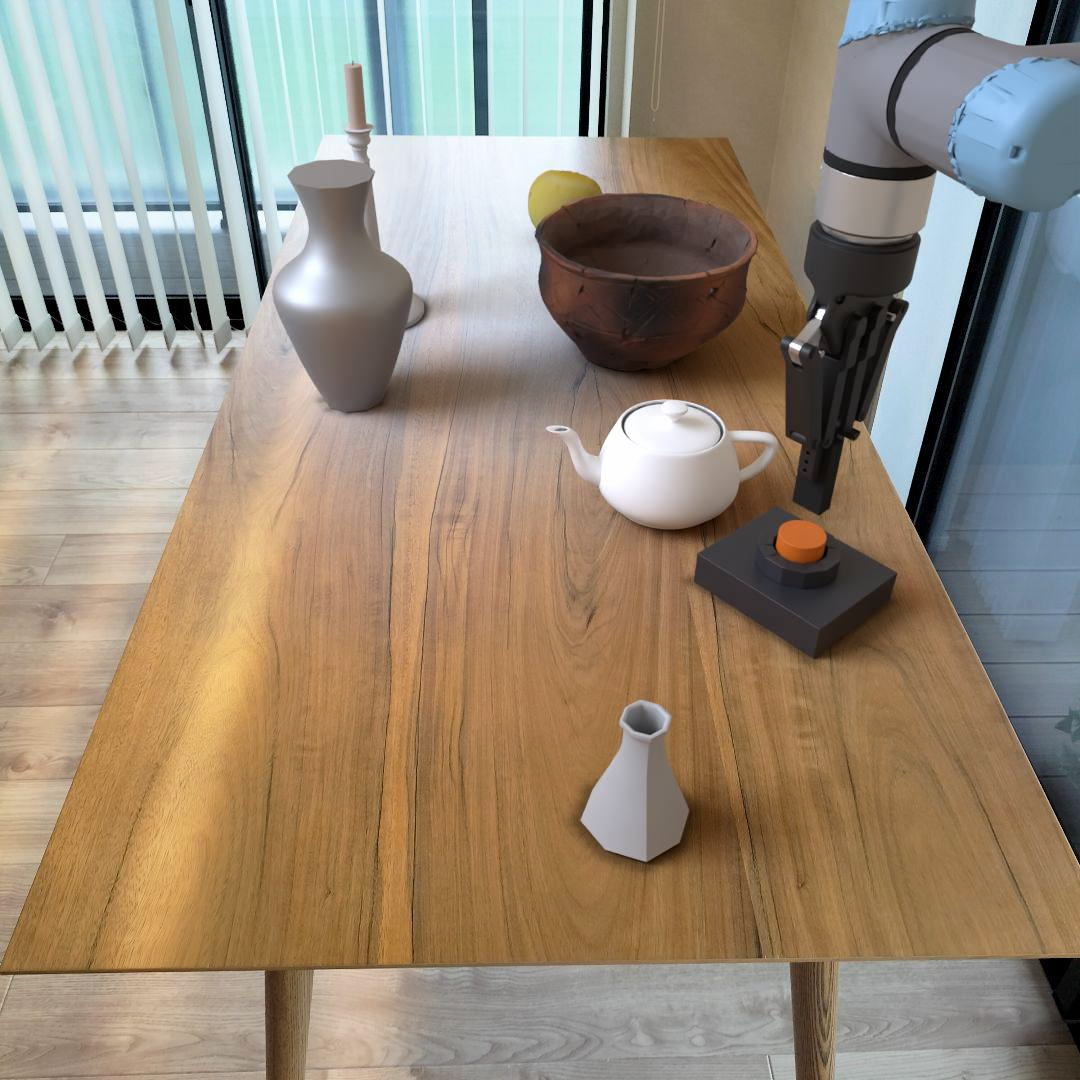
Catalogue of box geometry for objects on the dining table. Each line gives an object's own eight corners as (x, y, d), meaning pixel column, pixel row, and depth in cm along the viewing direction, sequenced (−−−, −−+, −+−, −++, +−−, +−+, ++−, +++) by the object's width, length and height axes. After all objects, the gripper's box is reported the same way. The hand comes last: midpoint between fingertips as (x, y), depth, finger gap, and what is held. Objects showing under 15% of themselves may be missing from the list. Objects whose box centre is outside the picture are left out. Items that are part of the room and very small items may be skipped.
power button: (832, 551, 92) (836, 535, 91) (804, 571, 90) (807, 554, 88) (794, 530, 94) (798, 514, 93) (766, 548, 92) (768, 532, 91)
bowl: (713, 421, 117) (731, 291, 108) (502, 379, 124) (502, 253, 114) (758, 325, 136) (777, 207, 127) (573, 293, 142) (577, 179, 133)
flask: (561, 824, 74) (566, 724, 68) (621, 761, 79) (630, 662, 73) (649, 881, 71) (663, 781, 65) (706, 811, 75) (724, 711, 69)
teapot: (753, 460, 111) (768, 367, 104) (784, 542, 100) (803, 443, 94) (540, 464, 110) (542, 370, 103) (548, 546, 99) (551, 447, 92)
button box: (890, 601, 94) (902, 555, 91) (813, 658, 88) (824, 612, 85) (771, 532, 101) (779, 488, 98) (693, 581, 95) (699, 536, 92)
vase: (403, 436, 114) (386, 203, 98) (270, 425, 115) (233, 193, 100) (431, 370, 125) (419, 152, 110) (309, 361, 126) (282, 144, 111)
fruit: (608, 250, 154) (612, 180, 148) (534, 255, 152) (535, 184, 146) (592, 223, 162) (595, 156, 156) (522, 227, 160) (522, 160, 154)
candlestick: (335, 287, 142) (309, 44, 124) (431, 293, 142) (419, 48, 123) (311, 331, 132) (278, 73, 114) (414, 337, 132) (398, 78, 113)
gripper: (874, 190, 80) (820, 458, 94) (764, 232, 73) (723, 515, 87) (965, 218, 76) (894, 495, 90) (857, 265, 69) (798, 558, 83)
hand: (810, 504), depth 89 cm, fingers closed
